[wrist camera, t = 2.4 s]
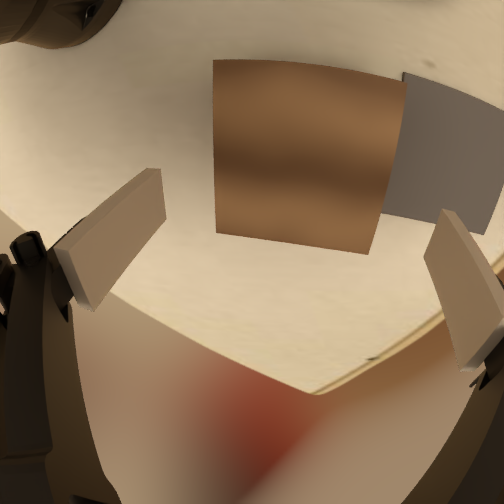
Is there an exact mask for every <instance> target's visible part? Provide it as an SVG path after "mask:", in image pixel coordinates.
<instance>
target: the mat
mask: <svg viewBox="0 0 504 504" xmlns="http://www.w3.org/2000/svg"><path fill="white" fill-rule="evenodd" d="M402 82H405V83H407V90H406V97H405V104H404V110H403V116H402V122H401V128H400V133H399V138H398V143H397V148H396V153H395V157H394V162H393V166H392V171H391V175H390V179H389V183H388V187H387V191H386V195H385V199H384V203H383V206H382V210H381V213H384V214H389V215H395V216H400V217H405V218H410V219H415V220H420V221H424V222H429V223H434V224H437V221H438V218H439V215H440V213H441V210H442V209H446V210H450V211H454V212H455V213H456V214H457V215H458V217H459V218H460V220H461V221H462V223H463V224H464V225H465V227H466V228H467V230H468V231H469V232H473V233H477V234H481V235H484V233H485V231H486V229H487V227H488V224H489V222H490V219H491V217H492V214H493V212H494V209H495V207H496V204H497V202H498V199H499V196H500V193H501V191H502V188H503V185H504V111H502V110H500V109H498V108H496V107H494V106H492V105H490V104H488V103H486V102H484V101H482V100H479V99H477V98H475V97H473V96H470V95H468V94H465V93H463V92H461V91H458V90H455V89H453V88H450V87H448V86H445V85H442V84H439V83H436V82H434V81H431V80H428V79H425V78H421V77H418V76H415V75H412V74H408V73H404V72H403V77H402Z"/></svg>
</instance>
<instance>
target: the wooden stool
mask: <svg viewBox="0 0 504 504" xmlns="http://www.w3.org/2000/svg"><path fill="white" fill-rule="evenodd" d="M406 90H407V83H405V82H401V81H398V80H394V79H390V78H386V77H382V76H377V75H373V74H368V73H364V72H359V71H353V70H348V69H342V68H336V67H330V66H323V65H315V64H306V63H297V62H285V61H270V60H213V145H214V186H215V215H216V233H221V234H228V235H236V236H243V237H250V238H257V239H264V240H271V241H278V242H285V243H292V244H299V245H306V246H313V247H320V248H326V249H333V250H340V251H346V252H353V253H359V254H366V255H368V253H369V250H370V247H371V244H372V241H373V238H374V234H375V231H376V228H377V224H378V221H379V217H380V214H381V210H382V206H383V203H384V199H385V195H386V191H387V187H388V183H389V179H390V175H391V171H392V166H393V162H394V157H395V153H396V148H397V143H398V138H399V133H400V128H401V122H402V116H403V110H404V104H405V97H406Z"/></svg>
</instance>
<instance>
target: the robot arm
mask: <svg viewBox="0 0 504 504" xmlns="http://www.w3.org/2000/svg"><path fill="white" fill-rule="evenodd" d="M121 1H122V0H0V45H1V44H4V43H9V42H14V41H17V42H21V43H26V44H30V45H34V46H38V47H42V48H46V49H58V48H65V47H72V46H75V45H78V44H80V43H82V42H84V41H86V40H87V39H89V38H90V37H92V36H93V35H94V34H96V33H97V32H98V31H99V30H100V29H101V28H102V27H103V26H104V25H105V24H106V23H107V22H108V20H109V19H110V18H111V17H112V15H113V14H114V13H115V11H116V10H117V8H118V6H119V5H120V3H121ZM165 220H166V212H165V204H164V196H163V187H162V178H161V169H155V168H146V169H145V170H144V171H142V172H141V173H140V174H138V175H137V176H136V177H134V178H133V179H132V180H130V181H129V182H128V183H127V184H125V185H124V186H123V187H121V188H120V189H119V190H118V191H116V192H115V193H114V194H113V195H112V196H110V197H109V198H108V199H107V200H105V201H104V202H103V203H102V204H101V205H99V206H98V207H97V208H96V209H95V210H94V211H92V212H91V213H90V214H89V215H88V216H86V217H84V218H83V219H81V220H80V221H79V222H78V223H76V224H75V225H74V226H73V228H71V229H70V230H69V231H68V232H67V234H66V233H65V234H64V235H63V236H62V237H61V238H60V239H59V240H58V241H57V242H56V243H55V244H54V245H53V246H52V247H51V248H50V249H49V250H48V251H46V249H45V246H44V244H43V241H42V238H41V236H40V233H39V232H37V231H30V232H26V233H24V234H22V235H20V236H19V237H17V238H16V239H15V240H14V241H13V242H12V243H11V245H10V250H11V252H12V254H13V256H14V258H15V261H16V263H17V264H11V262H10V259H9V257H8V255H6V254H0V303H1V304H2V306H3V308H4V309H5V311H4V314H3V315H2V314H1V312H0V504H122V503H121V501H120V498H119V497H118V494H117V492H116V491H115V489H114V487H113V486H112V485H111V483H110V482H109V481H108V480H107V478H106V476H105V475H104V472H103V470H102V467H101V464H100V461H99V458H98V455H97V451H96V448H95V444H94V441H93V437H92V433H91V429H90V425H89V421H88V417H87V413H86V408H85V403H84V399H83V393H82V388H81V383H80V376H79V370H78V363H77V356H76V348H75V339H74V328H73V315H72V307H71V304H70V302H69V301H70V300H71V298H72V297H73V296H74V297H75V299H76V301H77V303H78V305H79V307H81V308H84V309H87V310H90V311H93V312H94V311H95V310H96V308H97V307H98V305H99V304H100V303H101V301H102V300H103V299H104V297H105V296H106V295H107V293H108V292H109V291H110V289H111V288H112V286H113V285H114V284H115V282H116V281H117V280H118V278H119V277H120V276H121V275H122V273H123V272H124V271H125V269H126V268H127V267H128V265H129V264H130V263H131V262H132V260H133V259H134V258H135V257H136V255H137V254H138V253H139V252H140V250H141V249H142V248H143V247H144V245H145V244H146V243H147V242H148V240H149V239H150V238H151V237H152V236H153V234H154V233H155V232H156V231H157V230H158V228H159V227H160V226H161V225H162V224H163V222H164V221H165ZM424 260H425V262H426V265H427V267H428V270H429V273H430V275H431V278H432V281H433V283H434V286H435V289H436V292H437V294H438V297H439V300H440V303H441V306H442V309H443V312H444V316H445V319H446V322H447V325H448V329H449V332H450V336H451V339H452V343H453V347H454V351H455V355H456V359H457V363H458V367H459V371H475V370H476V369H477V368H478V367H479V366H480V365H481V363H482V362H483V361H484V363H485V366H486V369H485V370H484V371H483V372H482V373H481V374H480V375H479V376H478V377H477V378H476V379H475V380H474V381H473V382H472V383H471V384H470V386H469V387H472V386H473V385H474V384H476V386H475V388H474V391H473V393H472V395H471V397H470V399H469V401H468V403H467V405H466V407H465V409H464V411H463V413H462V415H461V417H460V418H459V420H458V422H457V424H456V426H455V427H454V429H453V431H452V433H451V435H450V436H449V438H448V440H447V441H446V443H445V444H444V446H443V448H442V449H441V451H440V452H439V454H438V455H437V457H436V458H435V460H434V461H433V463H432V464H431V466H430V467H429V469H428V470H427V471H426V473H425V474H424V476H423V477H422V478H421V480H420V481H419V482H418V484H417V485H416V486H415V487H414V489H413V490H412V491H411V492H410V494H409V495H408V496H407V497H406V499H405V500H404V501H403V502H402V503H401V504H504V285H503V283H502V281H501V280H500V279H499V278H498V277H497V275H496V274H495V273H494V271H493V270H492V268H491V266H490V265H489V263H488V261H487V259H486V258H485V256H484V255H483V253H482V251H481V250H480V248H479V246H478V245H477V243H476V242H475V240H474V239H473V237H472V236H471V234H470V233H469V231H468V230H467V228H466V227H465V225H464V224H463V223H462V221H461V220H460V218H459V217H458V215H457V214H456V213H455V212H454V211H450V210H446V209H442V210H441V213H440V215H439V218H438V221H437V224H436V226H435V229H434V232H433V234H432V237H431V239H430V242H429V244H428V247H427V249H426V252H425V254H424Z"/></svg>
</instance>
